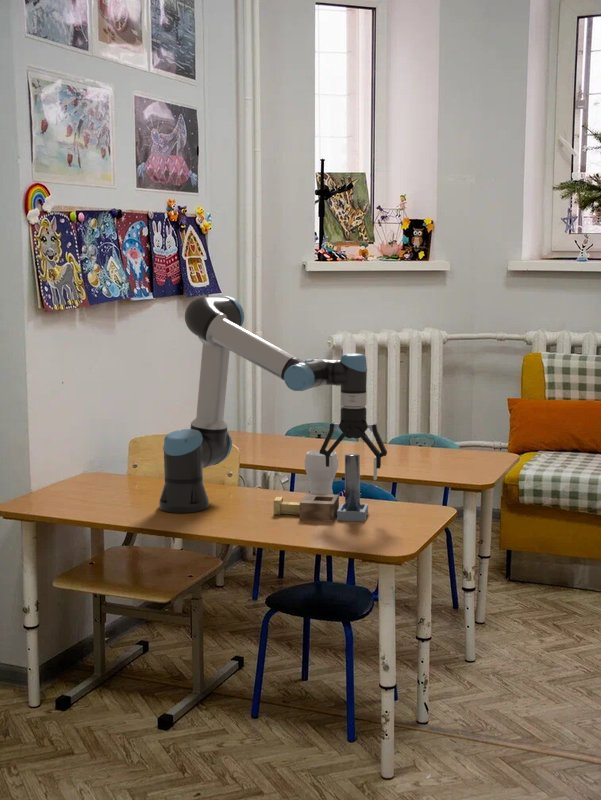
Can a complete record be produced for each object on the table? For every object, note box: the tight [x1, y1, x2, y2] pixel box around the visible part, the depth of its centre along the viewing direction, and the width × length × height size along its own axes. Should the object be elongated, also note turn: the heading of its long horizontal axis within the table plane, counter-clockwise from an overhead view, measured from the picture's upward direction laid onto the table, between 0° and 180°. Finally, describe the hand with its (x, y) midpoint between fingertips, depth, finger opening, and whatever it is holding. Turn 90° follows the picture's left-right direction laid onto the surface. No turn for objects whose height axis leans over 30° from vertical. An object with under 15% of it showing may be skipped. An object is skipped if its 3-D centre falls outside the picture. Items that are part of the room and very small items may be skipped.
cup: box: [304, 449, 339, 494], centre depth 318 cm, size 11×11×15 cm
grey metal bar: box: [344, 453, 361, 511], centre depth 296 cm, size 4×4×17 cm
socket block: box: [299, 492, 340, 522], centre depth 299 cm, size 10×12×5 cm
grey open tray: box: [336, 502, 369, 522], centre depth 297 cm, size 8×10×3 cm
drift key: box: [273, 496, 300, 516], centre depth 300 cm, size 12×5×4 cm, turn 80°
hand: (353, 478), depth 296 cm, fingers open, 12 cm apart
